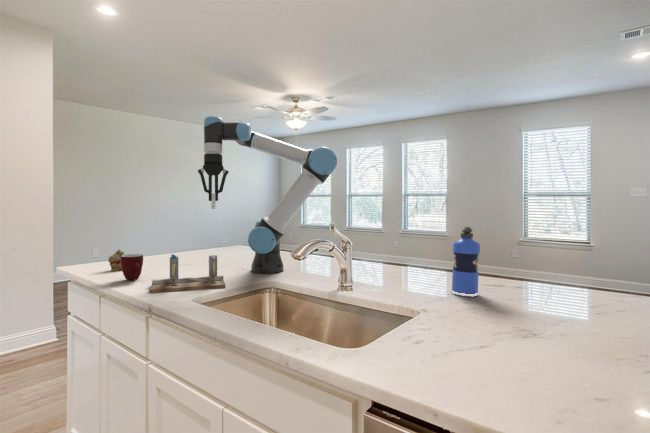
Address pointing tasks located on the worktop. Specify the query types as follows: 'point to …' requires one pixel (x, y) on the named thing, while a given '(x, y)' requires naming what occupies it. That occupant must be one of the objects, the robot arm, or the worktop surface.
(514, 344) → the worktop surface
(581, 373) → the worktop surface
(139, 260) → the mug
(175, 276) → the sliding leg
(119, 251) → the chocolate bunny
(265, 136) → the robot arm
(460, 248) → the water bottle
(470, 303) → the worktop surface
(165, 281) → the brown wooden board
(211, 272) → the fixed leg
